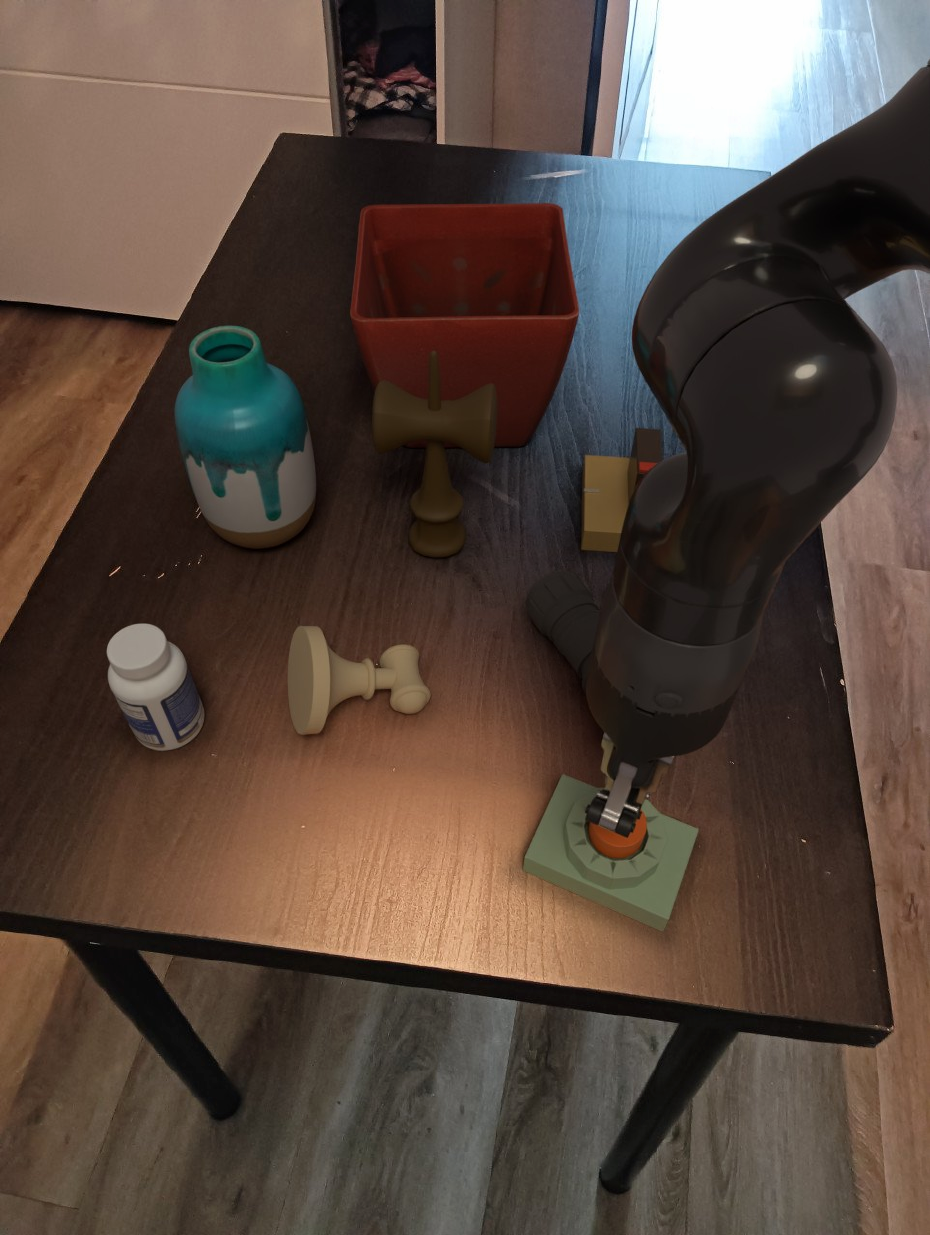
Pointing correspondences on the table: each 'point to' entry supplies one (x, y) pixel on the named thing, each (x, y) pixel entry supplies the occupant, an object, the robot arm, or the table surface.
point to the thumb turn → (643, 455)
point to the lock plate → (603, 502)
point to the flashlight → (566, 617)
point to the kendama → (435, 451)
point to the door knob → (346, 679)
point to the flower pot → (467, 304)
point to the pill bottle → (154, 687)
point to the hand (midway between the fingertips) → (621, 810)
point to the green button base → (615, 883)
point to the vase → (245, 441)
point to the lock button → (618, 839)
